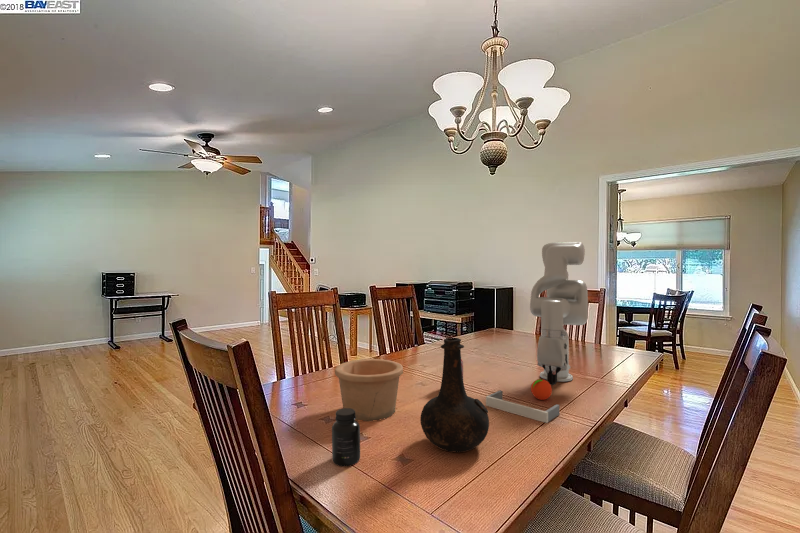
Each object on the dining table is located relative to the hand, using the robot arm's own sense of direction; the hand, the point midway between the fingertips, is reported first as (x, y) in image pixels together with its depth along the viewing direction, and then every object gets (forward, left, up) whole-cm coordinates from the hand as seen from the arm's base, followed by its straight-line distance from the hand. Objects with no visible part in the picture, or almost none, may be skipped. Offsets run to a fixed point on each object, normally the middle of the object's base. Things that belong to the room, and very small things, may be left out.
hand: (552, 384), depth 146 cm
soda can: (+20, -29, -4) cm, 36 cm away
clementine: (+9, 0, -4) cm, 10 cm away
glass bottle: (+57, -1, -4) cm, 57 cm away
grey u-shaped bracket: (+23, 0, -3) cm, 23 cm away
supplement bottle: (+82, -15, -4) cm, 84 cm away
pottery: (+57, -35, -4) cm, 67 cm away
